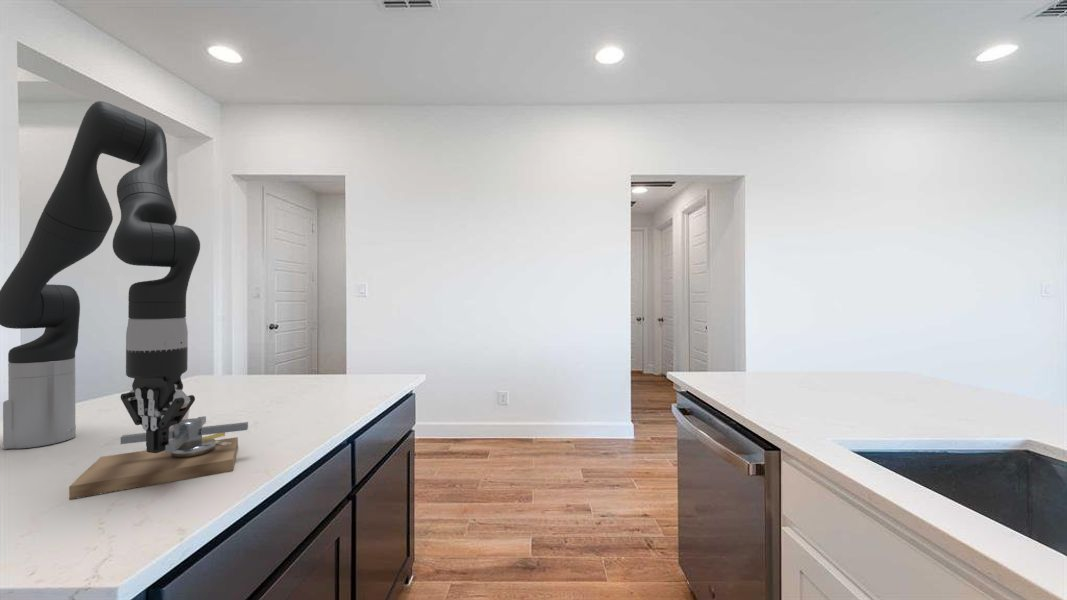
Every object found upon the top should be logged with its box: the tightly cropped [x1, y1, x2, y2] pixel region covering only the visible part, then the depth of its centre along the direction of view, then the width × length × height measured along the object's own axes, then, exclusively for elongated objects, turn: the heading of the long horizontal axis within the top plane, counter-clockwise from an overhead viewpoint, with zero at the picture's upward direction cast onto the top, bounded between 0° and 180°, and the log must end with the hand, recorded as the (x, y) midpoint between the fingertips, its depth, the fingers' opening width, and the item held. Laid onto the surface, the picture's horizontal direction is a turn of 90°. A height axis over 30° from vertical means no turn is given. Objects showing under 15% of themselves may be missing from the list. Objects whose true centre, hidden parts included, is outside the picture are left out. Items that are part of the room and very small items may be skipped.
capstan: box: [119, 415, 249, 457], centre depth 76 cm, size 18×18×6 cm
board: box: [68, 436, 239, 500], centre depth 74 cm, size 20×14×2 cm
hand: (157, 451), depth 69 cm, fingers closed
